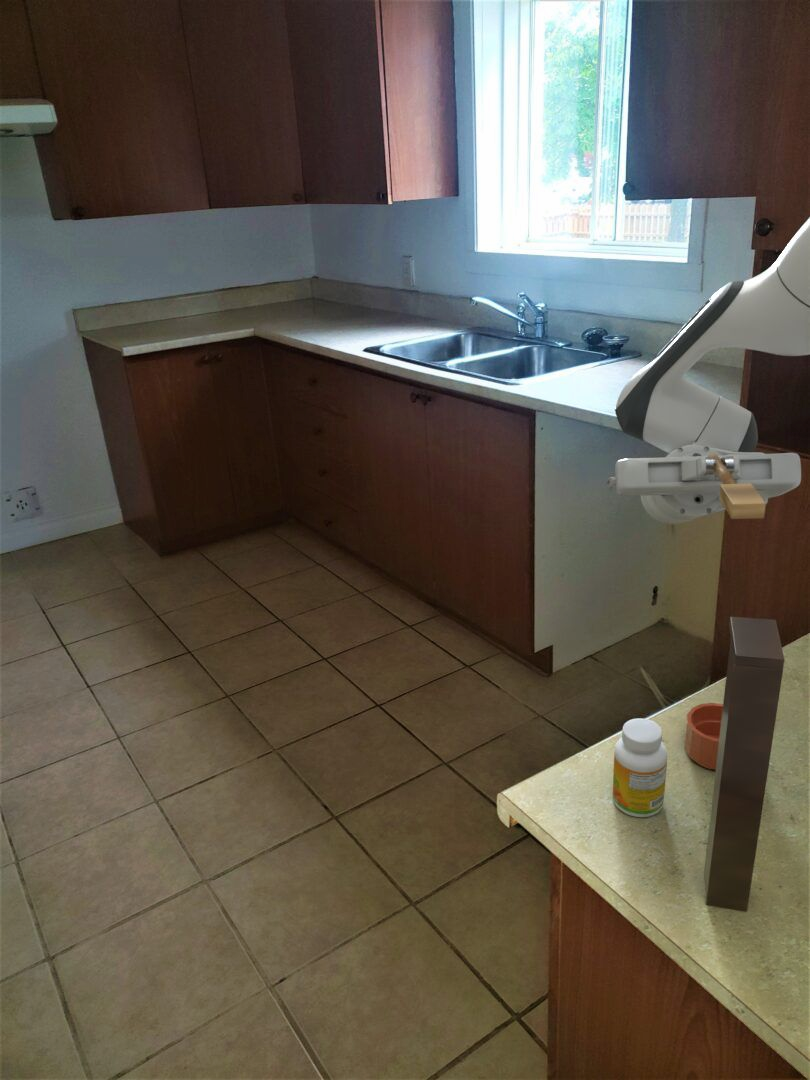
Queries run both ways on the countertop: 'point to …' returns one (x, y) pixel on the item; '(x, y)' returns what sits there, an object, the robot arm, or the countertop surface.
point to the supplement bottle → (640, 769)
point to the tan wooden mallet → (738, 495)
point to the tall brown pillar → (742, 759)
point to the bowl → (703, 733)
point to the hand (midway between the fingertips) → (720, 464)
